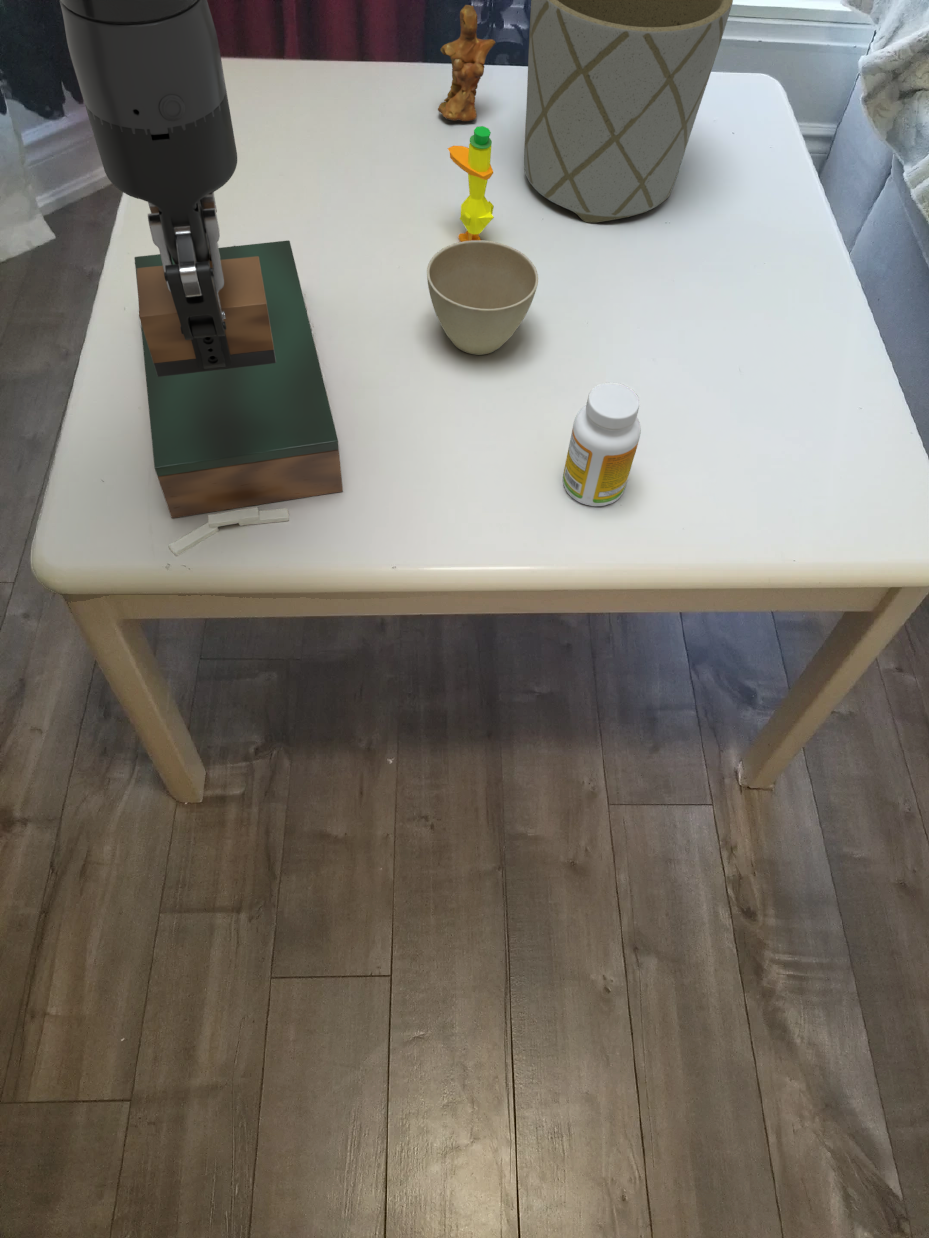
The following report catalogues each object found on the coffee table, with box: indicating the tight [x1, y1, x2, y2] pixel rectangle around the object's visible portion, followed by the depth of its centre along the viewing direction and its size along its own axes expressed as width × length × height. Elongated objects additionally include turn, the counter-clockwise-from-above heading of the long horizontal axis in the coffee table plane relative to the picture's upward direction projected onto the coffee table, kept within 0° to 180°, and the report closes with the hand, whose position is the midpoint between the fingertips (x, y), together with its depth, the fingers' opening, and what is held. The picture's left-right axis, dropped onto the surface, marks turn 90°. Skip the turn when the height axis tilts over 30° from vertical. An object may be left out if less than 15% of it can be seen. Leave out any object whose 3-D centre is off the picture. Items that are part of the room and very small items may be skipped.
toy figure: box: [447, 125, 495, 242], centre depth 91 cm, size 7×4×12 cm, turn 42°
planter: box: [523, 0, 734, 224], centre depth 95 cm, size 19×19×20 cm
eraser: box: [136, 256, 276, 377], centre depth 62 cm, size 8×5×5 cm, turn 103°
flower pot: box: [426, 239, 539, 356], centre depth 85 cm, size 10×10×7 cm
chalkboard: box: [134, 239, 344, 519], centre depth 79 cm, size 14×26×6 cm, turn 14°
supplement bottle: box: [562, 382, 642, 507], centre depth 74 cm, size 5×5×10 cm
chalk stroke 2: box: [207, 506, 260, 528], centre depth 73 cm, size 4×1×1 cm, turn 103°
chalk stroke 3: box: [238, 507, 290, 527], centre depth 74 cm, size 4×1×1 cm, turn 100°
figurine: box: [437, 4, 496, 122], centre depth 104 cm, size 5×6×12 cm
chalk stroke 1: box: [168, 522, 220, 557], centre depth 73 cm, size 4×1×1 cm, turn 132°
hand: (212, 337), depth 63 cm, fingers closed on eraser, 5 cm apart
